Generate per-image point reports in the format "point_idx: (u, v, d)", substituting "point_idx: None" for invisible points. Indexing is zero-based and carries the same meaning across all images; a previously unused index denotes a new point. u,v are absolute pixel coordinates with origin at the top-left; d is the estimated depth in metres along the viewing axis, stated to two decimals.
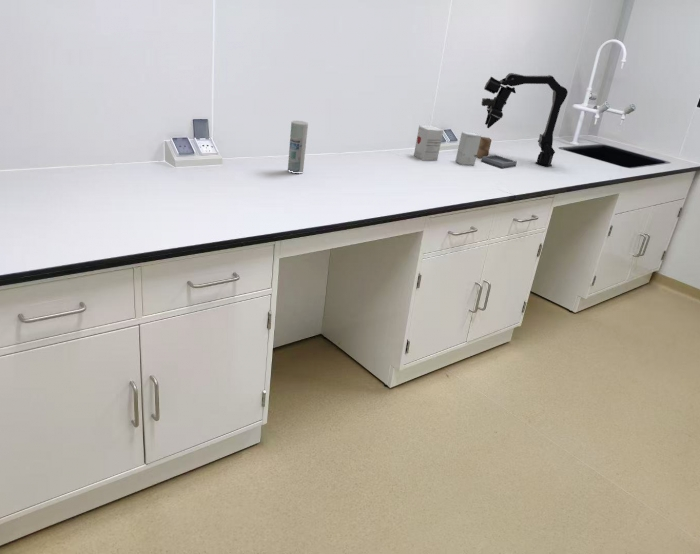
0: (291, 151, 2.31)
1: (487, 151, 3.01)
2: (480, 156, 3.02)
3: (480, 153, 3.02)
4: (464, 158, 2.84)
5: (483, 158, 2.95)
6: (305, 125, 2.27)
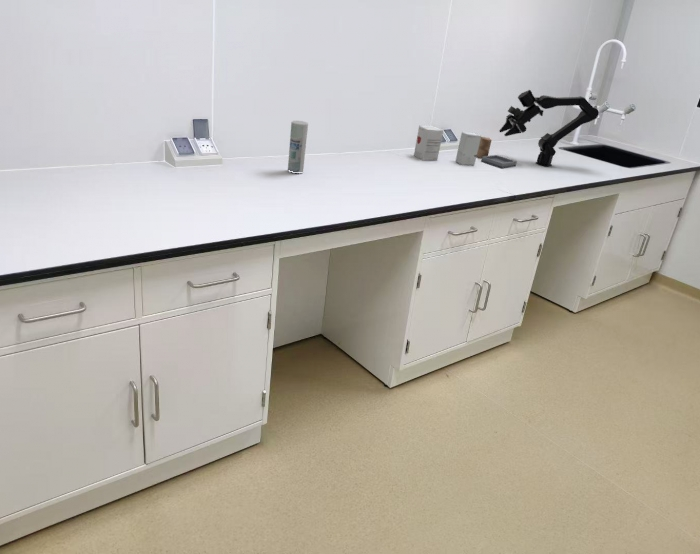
0: (291, 151, 2.31)
1: (487, 151, 3.01)
2: (480, 156, 3.02)
3: (480, 153, 3.02)
4: (464, 158, 2.84)
5: (483, 158, 2.95)
6: (305, 125, 2.27)
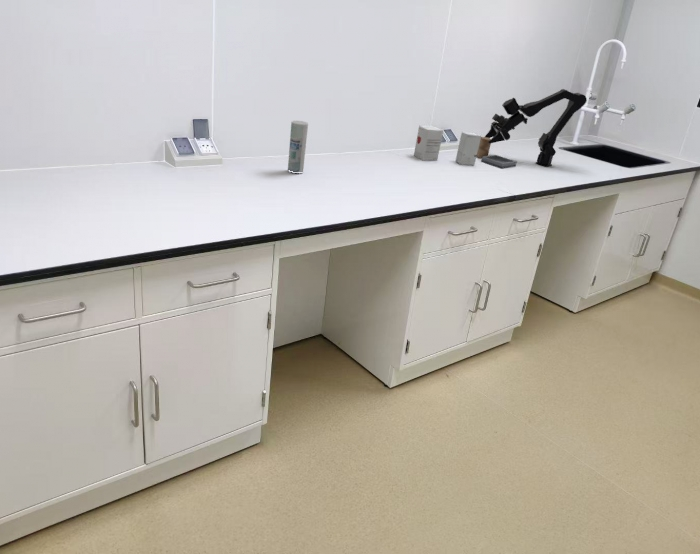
0: (291, 151, 2.31)
1: (487, 151, 3.01)
2: (480, 156, 3.02)
3: (480, 153, 3.02)
4: (464, 158, 2.84)
5: (483, 158, 2.95)
6: (305, 125, 2.27)
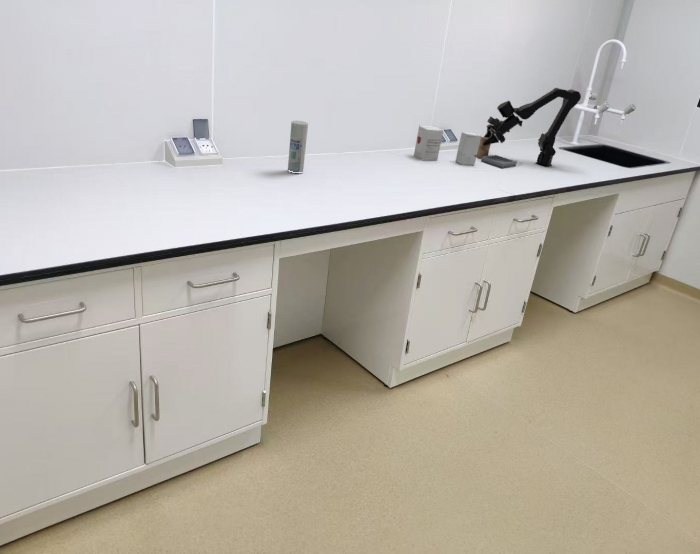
0: (291, 151, 2.31)
1: (487, 151, 3.01)
2: (480, 156, 3.02)
3: (480, 153, 3.02)
4: (464, 158, 2.84)
5: (483, 158, 2.95)
6: (305, 125, 2.27)
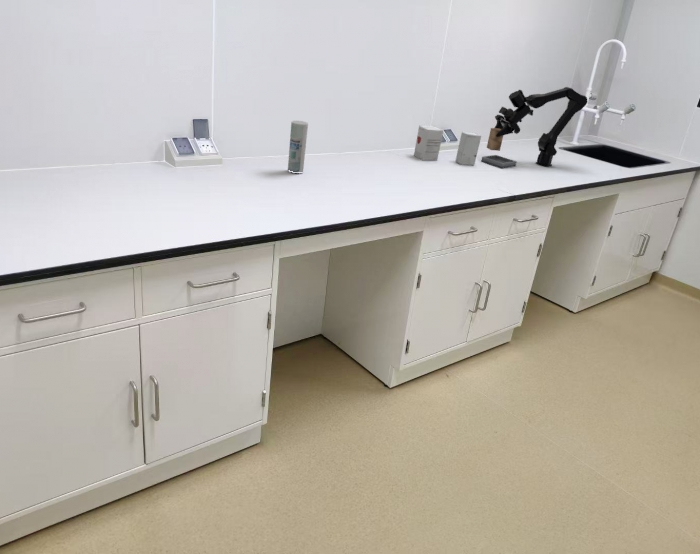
0: (291, 151, 2.31)
1: (500, 142, 2.94)
2: (493, 148, 2.94)
3: (493, 145, 2.93)
4: (464, 158, 2.84)
5: (483, 158, 2.95)
6: (305, 125, 2.27)
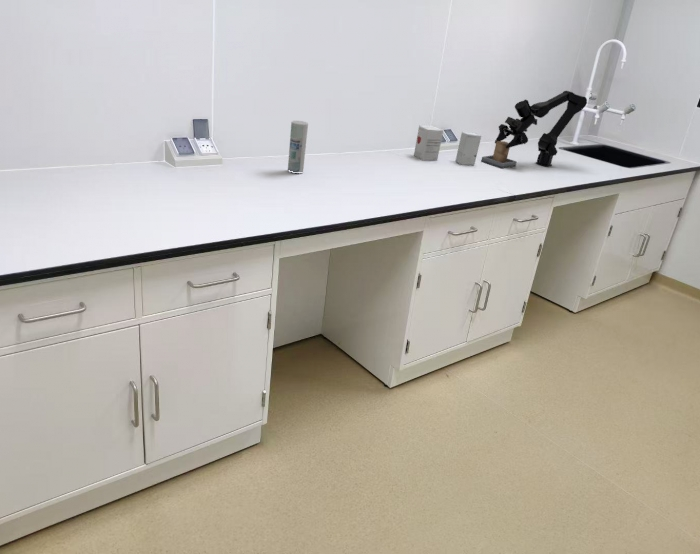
0: (291, 151, 2.31)
1: (506, 155, 2.93)
2: (500, 161, 2.93)
3: (500, 158, 2.92)
4: (464, 158, 2.84)
5: (483, 158, 2.95)
6: (305, 125, 2.27)
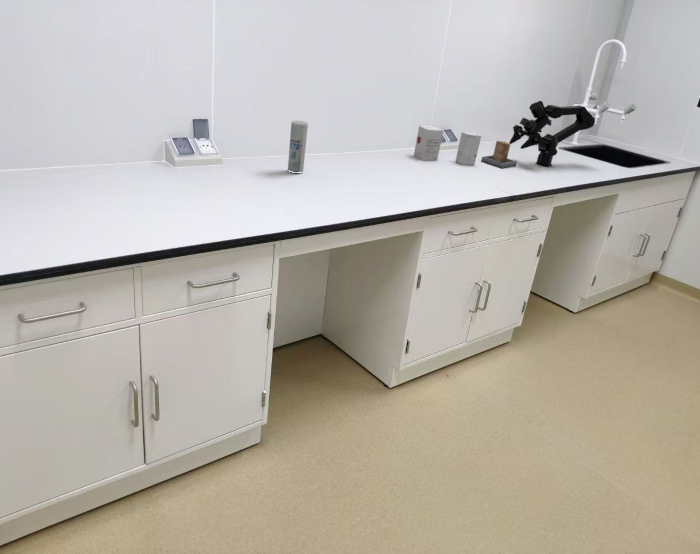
0: (291, 151, 2.31)
1: (506, 155, 2.93)
2: (500, 161, 2.93)
3: (500, 158, 2.92)
4: (464, 158, 2.84)
5: (483, 158, 2.95)
6: (305, 125, 2.27)
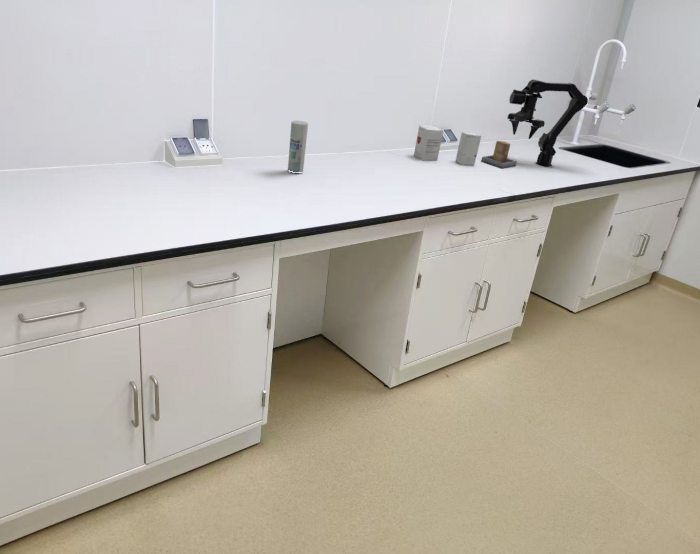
0: (291, 151, 2.31)
1: (506, 155, 2.93)
2: (500, 161, 2.93)
3: (500, 158, 2.92)
4: (464, 158, 2.84)
5: (483, 158, 2.95)
6: (305, 125, 2.27)
